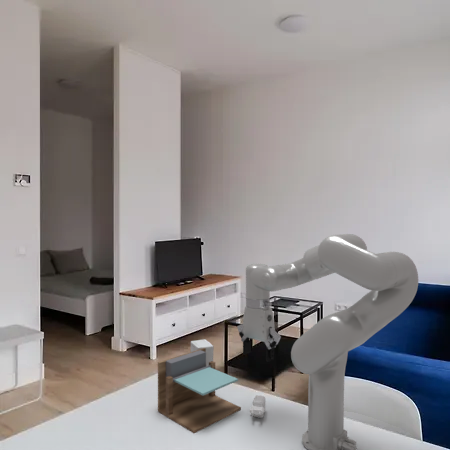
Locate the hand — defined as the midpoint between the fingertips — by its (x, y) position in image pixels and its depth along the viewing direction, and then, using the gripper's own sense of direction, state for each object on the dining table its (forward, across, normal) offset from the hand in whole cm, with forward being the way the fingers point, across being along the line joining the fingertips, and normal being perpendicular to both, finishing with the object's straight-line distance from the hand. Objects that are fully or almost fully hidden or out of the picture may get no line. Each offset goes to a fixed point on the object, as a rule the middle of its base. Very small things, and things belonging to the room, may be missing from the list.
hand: (258, 356), depth 128 cm
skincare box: (+18, +30, -2) cm, 35 cm away
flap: (+7, +18, +12) cm, 23 cm away
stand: (+18, +15, +12) cm, 26 cm away
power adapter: (+19, -1, +2) cm, 19 cm away
